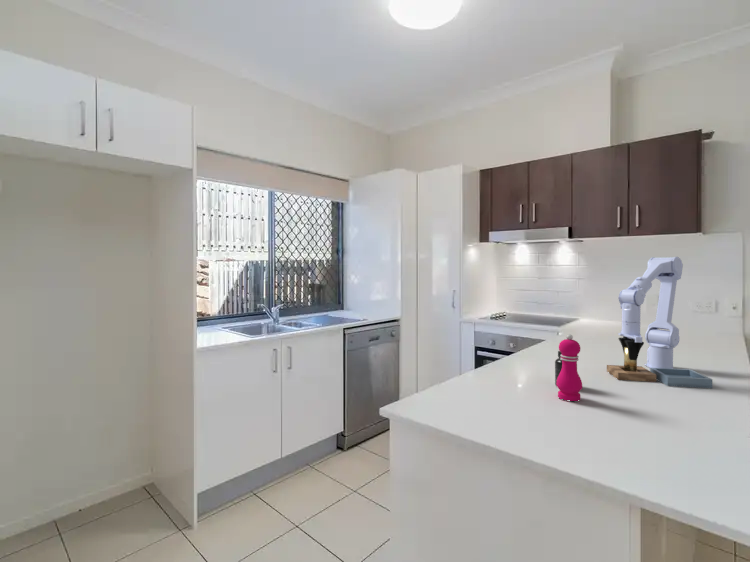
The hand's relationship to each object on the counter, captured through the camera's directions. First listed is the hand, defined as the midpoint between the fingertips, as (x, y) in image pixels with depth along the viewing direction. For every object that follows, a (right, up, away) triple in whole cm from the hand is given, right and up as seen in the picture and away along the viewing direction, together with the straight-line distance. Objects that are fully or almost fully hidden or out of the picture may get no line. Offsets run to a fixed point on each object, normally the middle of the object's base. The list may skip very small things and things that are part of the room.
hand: (630, 358), depth 146 cm
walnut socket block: (0, -7, 0) cm, 7 cm away
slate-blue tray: (+13, -7, -7) cm, 16 cm away
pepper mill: (-34, -8, -24) cm, 42 cm away
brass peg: (0, -4, 0) cm, 4 cm away
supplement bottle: (-29, -8, -11) cm, 32 cm away
